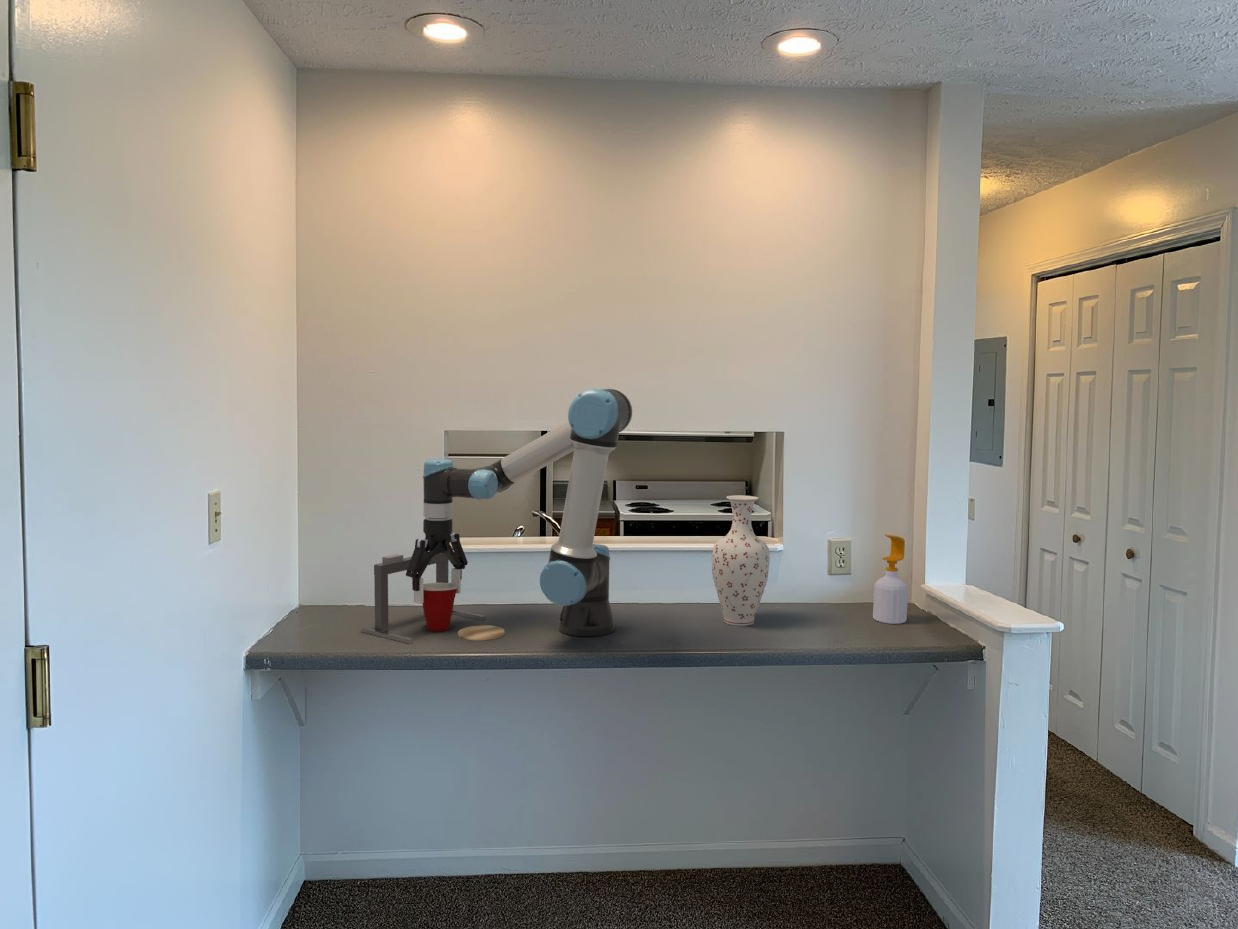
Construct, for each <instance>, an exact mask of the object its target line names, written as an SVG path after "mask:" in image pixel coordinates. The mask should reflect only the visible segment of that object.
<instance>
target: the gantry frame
mask: <svg viewBox="0 0 1238 929" xmlns="http://www.w3.org/2000/svg"><path fill="white" fill-rule="evenodd" d="M411 557H412V556H409V557H404V555H403V554H399V553H396V554H391V555H390V554H389V555H385V556H382V557H381V558H382V562H380V563H376V564H375V563H374V565H373V575H374V576H373V577H374V579H373V580H374V629H375V630H379V631H383V632H388V631H389V575H390V574H391V575H392V574H395V573H400V572H404V571H407V569H408V566H409V563H410V560H411ZM449 562H450V561H449V559H448V558H447V556H446V555H445V554H444V553H439V554H435V556H434V557H432V558H431V560H430V562H429V564H428V565H427V566H430V565H435V583H449Z"/></svg>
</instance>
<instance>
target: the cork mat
mask: <svg viewBox="0 0 1238 929" xmlns="http://www.w3.org/2000/svg"><path fill="white" fill-rule="evenodd" d="M504 635H505V629H504V628H502V627H499V626H495V625H488V624H480V625H479V624H478V625H470V626H466V627H463V628H460V629H459V630H458V631H457V636H458V637H459V638H460V639H462V640H467V641H473V642H474V641H475V642H477V641H480V642H481V641H493V640H497V639H500V638H502V637H503V636H504Z"/></svg>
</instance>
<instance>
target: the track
mask: <svg viewBox="0 0 1238 929" xmlns="http://www.w3.org/2000/svg"><path fill="white" fill-rule="evenodd" d="M452 615H457V616H461V617H466V618H470V619H474V620H479V621H486V615H484V614H478V613H474V612H470V611H469V612H468V611H464V610H459V609H456V608H455V609H454V608H453V611H452ZM360 632H361V633H364V634H368V635H372V636H378V637H380V638H384V639H388V640H392V641H397V642H401V643H405V644H408V645H411V644H413V643H414V638H411V637H407V636H403V635H399V634H395V633H392V632H391V633H390V632H388V631H385V632H383V631H379V630H375V628H370V627H365V626H363V627H361V628H360Z"/></svg>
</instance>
